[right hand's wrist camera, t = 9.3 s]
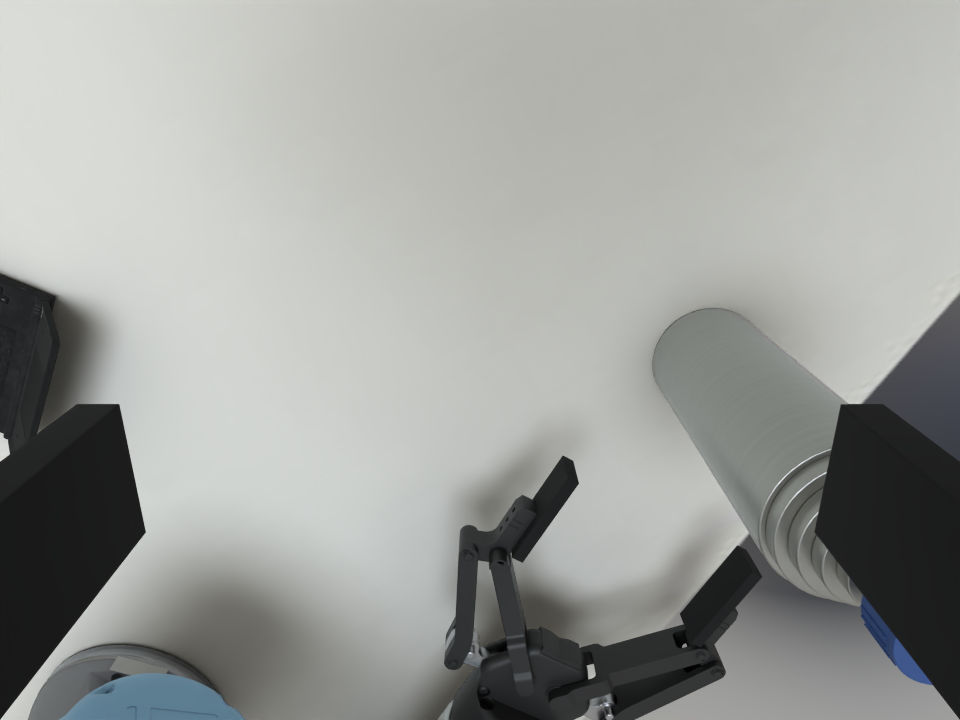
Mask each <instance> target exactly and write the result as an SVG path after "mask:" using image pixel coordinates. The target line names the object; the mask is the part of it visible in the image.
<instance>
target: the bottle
mask: <svg viewBox="0 0 960 720" xmlns="http://www.w3.org/2000/svg"><path fill="white" fill-rule="evenodd" d="M653 372H654V377H655V380H656V383H657V385H658V387H659V388H660V390H661V392H662V393H663V395H664V396H665V398H666V400H667V401H668V403H669V404H670V406H671V408H672V409H673V411H674V413H675V414H676V416H677V417H678V419H679V421H680V422H681V424H682V425H683V427H684V429H685V430H686V432H687V433H688V435H689V437H690V438H691V440H692V441H693V443H694V445H695V446H696V448H697V450H698V451H699V453H700V454H701V456H702V458H703V459H704V461H705V462H706V464H707V466H708V467H709V469H710V470H711V472H712V474H713V475H714V477H715V479H716V480H717V482H718V483H719V485H720V487H721V488H722V490H723V491H724V493H725V495H726V496H727V498H728V499H729V501H730V503H731V504H732V506H733V507H734V509H735V511H736V512H737V514H738V516H739V517H740V519H741V520H742V522H743V524H744V525H745V527H746V528H747V530H748V532H749V533H750V535H751V536H752V538H753V540H754V541H755V543H756V545H757V546H758V548H759V549H760V551H761V553H762V554H763V556H764V557H765V559H766V560H767V562H768V563H769V565H770V566H771V567H772V568H773V569H774V570H775V571H776V572H777V573H778V574H779V575H781V576H782V577H783V578H785V579H787V580H788V581H790V582H791V583H792V584H794V585H795V586H796V587H798V588H799V589H801V590H803V591H805V592H807V593H809V594H812V595H814V596H817V597H821V598H826V599H831V600H834V601H838V602H843V603H847V604H850V605H854V606H858V607H860V605H861V600H862V596H863V594H862V593H861V592H860V590H859V589H858V588H857V587H856V585H855V584H854V583H853V581H852V580H851V579H850V578H849V576H848V575H847V574H846V572H845V571H844V570H843V569H842V567H841V566H840V565H839V563H838V562H837V561H836V560H835V558H834V557H833V556H832V554H831V553H830V552H829V551H828V549H827V548H826V547H825V545H824V544H823V543H822V542H821V540H820V539H819V538H818V536H817V535H816V534H815V533H814V531H815V526H816V522H817V517H818V512H819V507H820V502H821V497H822V493H823V488H824V483H825V478H826V473H827V468H828V464H829V459H830V454H831V449H832V444H833V439H834V435H835V430H836V425H837V420H838V415H839V411H840V406H841V404H848V403H847V402H846V401H844V400H843V399H842V398H841V397H840V396H838V395H837V394H836V393H835V392H834V391H832V390H831V389H830V388H829V387H827V386H826V385H825V384H824V383H823V382H821V381H820V380H819V379H818V378H817V377H815V376H814V375H813V374H812V373H811V372H809V371H808V370H807V369H806V368H804V367H803V366H802V365H801V364H800V363H798V362H797V361H796V360H795V359H794V358H792V357H791V356H790V355H789V354H787V353H786V352H785V351H784V350H783V349H781V348H780V347H779V346H778V345H777V344H775V343H774V342H773V341H772V340H770V339H769V338H768V337H767V336H766V335H764V334H763V333H762V332H761V331H760V330H758V329H757V328H756V327H755V326H753V325H752V324H751V323H750V322H749V321H747V320H746V319H745V318H744V317H742V316H740V315H739V314H737V313H734V312H732V311H729V310H725V309H715V308H711V309H703V310H698V311H695V312H692V313H689V314H687V315H685V316H683V317H682V318H680V319H679V320H677V321H676V322H675V323H673V324H672V325H671V326H670V327H669V328H668V329H667V330H666V331H665V333H664V334H663V335H662V337H661V339H660V340H659V342H658V344H657V347H656V349H655V353H654V357H653Z"/></svg>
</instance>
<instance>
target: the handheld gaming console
mask: <svg viewBox="0 0 960 720" xmlns="http://www.w3.org/2000/svg"><path fill="white" fill-rule="evenodd" d="M54 301H55V296H53V295H50V294H47V293H45V292H42V291H40V290H37V289H35V288H33V287H30V286H28V285H25V284H23V283H20V282H18V281H15V280H13V279H10V278H8V277H5V276H3V275H0V432H1V433H4V438H5V439H9V440H8V443H9V450H10V454H11V453H13V452H14V451H15V450H17V449H18V448H19V447H21V446H22V445H23V444H25V443H26V442H27V441H29V440H30V439H31V438H33V437H34V436H35V435H37V431H38V427H39V424H40V420H41V416H42V412H43V408H44V404H45V400H46V396H47V392H48V388H49V384H50V381H51V377H52V373H53V369H54V365H55V361H56V357H57V353H58V349H59V337H58V334H57V330H56V327H55V323H54V320H53V316H52V309H53V305H54Z"/></svg>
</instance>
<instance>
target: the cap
mask: <svg viewBox="0 0 960 720" xmlns="http://www.w3.org/2000/svg"><path fill="white" fill-rule="evenodd" d="M860 607H861V612H862V615H861V617H862V618H863V620H864V621H865V624H864V625H865V626H866V627H867V629H868V630H869V632H870V633H871V634H872V636H873V637H874V638H875V640H876V641H877V643H878V644H879V645H880V647H881V648H882V649H883V651H884V652H885V653H886V655H887V656H888V658H890V659H891V661H892V662H893V663H894V665H897V667H898V668H899V669H900V670H901V672H902V673H903V674H905V675H906V676H907V677H909V678H911V679H913V680H915V681H917V682H920V683H924V684H930V685H933V684H932V683H931V682H930V680H929V679H928V678H927V677H926V675H925V674H924V673H923V671H922V670H921V669H920V668H919V666H918V665H917V664H916V662H915V661H914V660H913V659H912V657H911V656H910V655H909V653H908V652H907V651H906V650H905V648H904V647H903V646H902V644H901V643H900V642H899V641H898V639H897V638H896V637H895V635H894V634H893V633H892V632H891V630H890V629H889V628H888V626H887V625H886V624H885V623H884V621H883V620H882V619H881V617H880V616H879V615H878V614H877V612H876V611H875V610H874V608H873V607H872V606H871V605H870V603H869V602H868V601H867V599H866V598H865V597H864V596H862V600H861V605H860Z"/></svg>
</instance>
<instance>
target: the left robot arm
mask: <svg viewBox="0 0 960 720" xmlns="http://www.w3.org/2000/svg"><path fill="white" fill-rule="evenodd" d="M578 484H579V482H578V478H577V474H576V470H575V467H574V463H573V461H572V460H570V459H568V458H567V457H565V456H562V458H561V459H560V461H559V462H558V463H557V465H556V466H555V468H554V469H553V471H552V472H551V474H550V475H549V476H548V478H547V479H546V481H545V482H544V484H543V485H542V487H541V488H540V489H539V491H538V492H537V494H536V495H535V497H534V498H533V500H532V499H530V498H528V497H526V496H524V495H522V496H521V497H519V498H518V499H516V500H515V502H514V503H513V505H512V507H511V508H510V509H509V511H508V512H507V513H506V515H505V516H504V518H503V519H502V521H501V522H500V524H499V525H498V527H497V528H496V529H495V530H493V531H490V532H483V531H478V530H477V528H476V527H474V526H471V525H466V526H464V527H463V528H462V529H461V531H460V542H459V562H458V581H457V601H456V617H455V619H454V620H453V622H452V624H451V626H450V628H449V630H448V632H447V634H446V644H445V660H444V664H445V666H446V667H447V668H448V669H451V670H456V669H458V668H460V667H461V666H462V664H463V663H465V664H468V665H471V666H474V667H475V669H474V670H473V671H472V673H471V674H470V675H469V677H468V678H467V679H466V681H465V682H464V684H463V685H462V686H461V688H460V689H459V690H458V692H457V693H456V695H455V697H454V699H453V700H452V701H451V702H450V703H449V705H448V706H447V707H446V709H445V710H444V711H443V713H442V714H441V716H440V717H439V718H438V720H574V719H576V718H579V717H581V716H583V715H585V716H586V717H588V718H590V719H592V720H635V719H637V718H639V717H641V716H643V715H645V714H647V713H649V712H652V711H654V710H656V709H658V708H660V707H662V706H664V705H666V704H669V703H671V702H673V701H675V700H677V699H679V698H681V697H683V696H685V695H687V694H690V693H692V692H694V691H696V690H698V689H700V688H702V687H704V686H706V685H709V684H711V683H713V682H715V681H717V680H719V679H721V678H723V677H724V675H725V673H726V671H725V669H724V666H723V664H722V661H721V659H720V657H719V654H718V652H717V650H716V648H715V645H714V644H715V643H716V642H717V641H718V639H719V638H720V637H721V636H722V635H723V634H724V633H725V631H726V630H727V629H728V628H729V627H730V625H732V624H733V622H734V621H735V620H736V618H737V615H738V612H737V610H736V608H735V607H736V606H737V605H738V604H739V603H740V602H741V601H742V599H743V598H744V597H745V596H746V595H747V594H748V593H749V591H750V590H751V589H752V588H753V587H754V586H755V585H756V583H757V582H758V581H759V580H760V579H761V578H762V576H761V574H760V572H759V570H758V569H757V567H756V565H755V564H754V562H753V560H752V559H751V557H750V555H749V554H748V552H747V550H745V549H743V548H741V547H739V546H738V545H737V547H736V548H735V549H734V550H733V551H732V552H731V554H730V555H729V556H728V557H727V558H726V560H725V561H724V562H723V563H722V564H721V566H720V567H719V568H718V569H717V570H716V572H715V573H714V574H713V575H712V576H711V577H710V579H709V580H708V581H707V582H706V583H705V585H704V586H703V587H702V588H701V589H700V591H699V592H698V593H697V594H696V595H695V597H694V598H693V599H692V600H691V601H690V603H689V604H688V605H687V606H686V607H685V608H684V610H683V611H682V612H681V613H680V615H681V618H682V620H683V623H684V624H683V625H680V626H676V627H673V628H669V629H666V630H662V631H658V632H655V633H651V634H648V635H644V636H641V637H637V638H633V639H630V640H626V641H623V642H619V643H616V644H612V645H608V646H605V647H603V646H601V645H599V644H592V645H588V646H585V647H581V648H579V644H577V643H575V642H573V641H571V640H568V639H563V638H559V637H557V636H556V635H554V634H553V633H552V632H551V631H549V630H547V629H545V628H543V627H540V628H539V630H538V629H530V630H527V627H526V623H525V618H524V613H523V609H522V606H521V601H520V597H519V592H518V587H517V582H516V577H515V573H514V568H513V563H512V558H514V559H516V560H518V561H520V562H522V563H523V561H524V560H525V558H526V557H527V556H528V554H529V553H530V551H531V550H532V549H533V547H534V546H535V544H536V543H537V541H538V540H539V539H540V537H541V536H542V534H543V533H544V532H545V530H546V529H547V527H548V526H549V525H550V523H551V522H552V520H553V519H554V518H555V516H556V515H557V513H558V512H559V511H560V509H561V508H562V506H563V505H564V504H565V502H566V501H567V499H568V498H569V497H570V495H571V494H572V492H573V491H574V490H575V488H576V487H577V485H578ZM511 552H512V558H511ZM478 560H480V561H487V562H489V569H491V572H492V576H493V581H494V585H495V590H496V594H497V599H498V603H499V608H500V612H501V617H502V621H503V626H504V630H505V635H506V638H504V639H501V640H498V641H495V642H493V643H490V644H488V645H486V646H485V647H484V648H483V647H482V646H480V644H479V635H478V633H477V632H475V629H474V615H475V599H476V583H477V567H478ZM685 643H686V644H687V647H685V648H682V645H683V644H685ZM590 664H594V667H595V672H596V676H595V677H594V678H592V679H589V680H588V670H587V665H590ZM28 720H245V719H244V718H243V716H242V715H241V714H240V713H239V711H238V710H237V709H234V708H232V707H230V706H228V705H227V704H226V703H225V702H224V701H223V698H222V696H221V695H219V694H218V692H217V691H216V690H215V688H214V687H213V686H212V684H211V683H210V682H209V681H208V680H207V679H206V678H205V677H204V676H203V675H202V674H200V673H199V672H198V671H197V670H195V669H194V668H193V667H191V666H190V665H188V664H186V663H185V662H183V661H181V660H179V659H177V658H175V657H173V656H171V655H168V654H166V653H163V652H160V651H157V650H154V649H150V648H145V647H140V646H132V645H107V646H100V647H95V648H91V649H88V650H85V651H82V652H80V653H77V654H75V655H73V656H72V657H70V658H68V659H67V660H65V661H64V662H63V663H62V664H60V665H59V666H58V667H57V668H56V670H55V671H54V672H53V673H52V675H51V676H50V677H49V679H48V680H47V681H46V683H45V684H44V685H43V687H42V688H41V690H40V692H39V693H38V696H37V698H36V700H35V702H34V704H33V706H32V709H31V712H30V715H29V718H28Z"/></svg>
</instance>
